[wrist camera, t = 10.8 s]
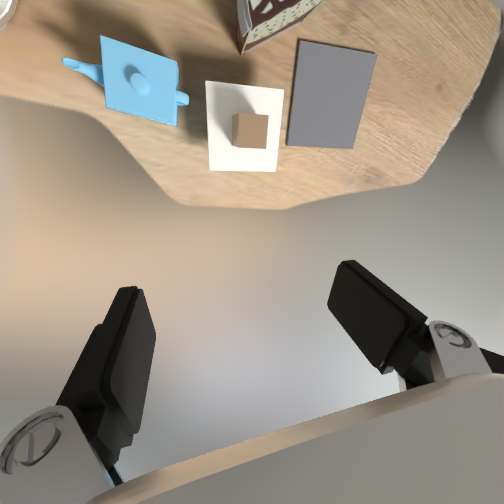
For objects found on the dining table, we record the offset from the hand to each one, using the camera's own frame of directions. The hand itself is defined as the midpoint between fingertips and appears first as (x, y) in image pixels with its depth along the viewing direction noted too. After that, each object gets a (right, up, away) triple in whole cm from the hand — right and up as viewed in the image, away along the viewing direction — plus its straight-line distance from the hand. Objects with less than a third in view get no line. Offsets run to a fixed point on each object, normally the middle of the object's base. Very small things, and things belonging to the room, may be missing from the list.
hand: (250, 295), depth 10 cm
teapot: (-15, +24, +18) cm, 33 cm away
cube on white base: (-1, +19, +19) cm, 27 cm away
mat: (+13, +27, +24) cm, 38 cm away
